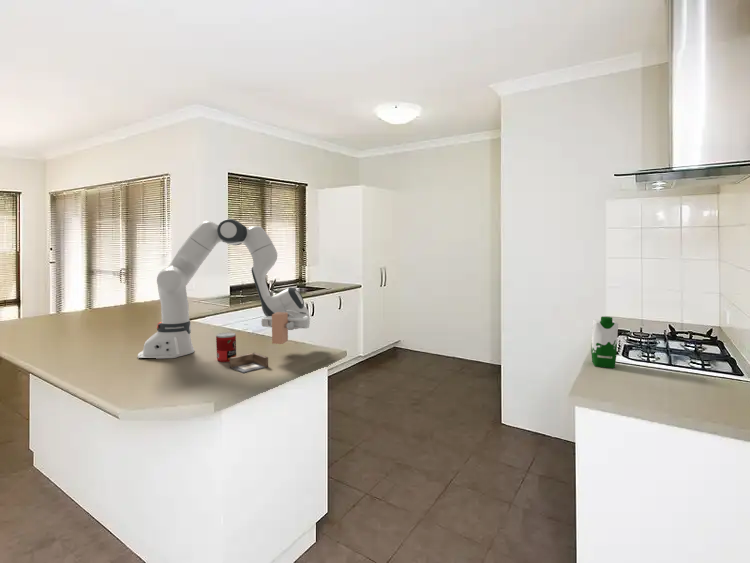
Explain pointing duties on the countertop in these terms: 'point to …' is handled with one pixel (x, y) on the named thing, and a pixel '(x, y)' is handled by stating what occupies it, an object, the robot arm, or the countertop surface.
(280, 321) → the terracotta block
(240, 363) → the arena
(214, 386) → the countertop surface
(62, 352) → the countertop surface
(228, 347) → the canned food
